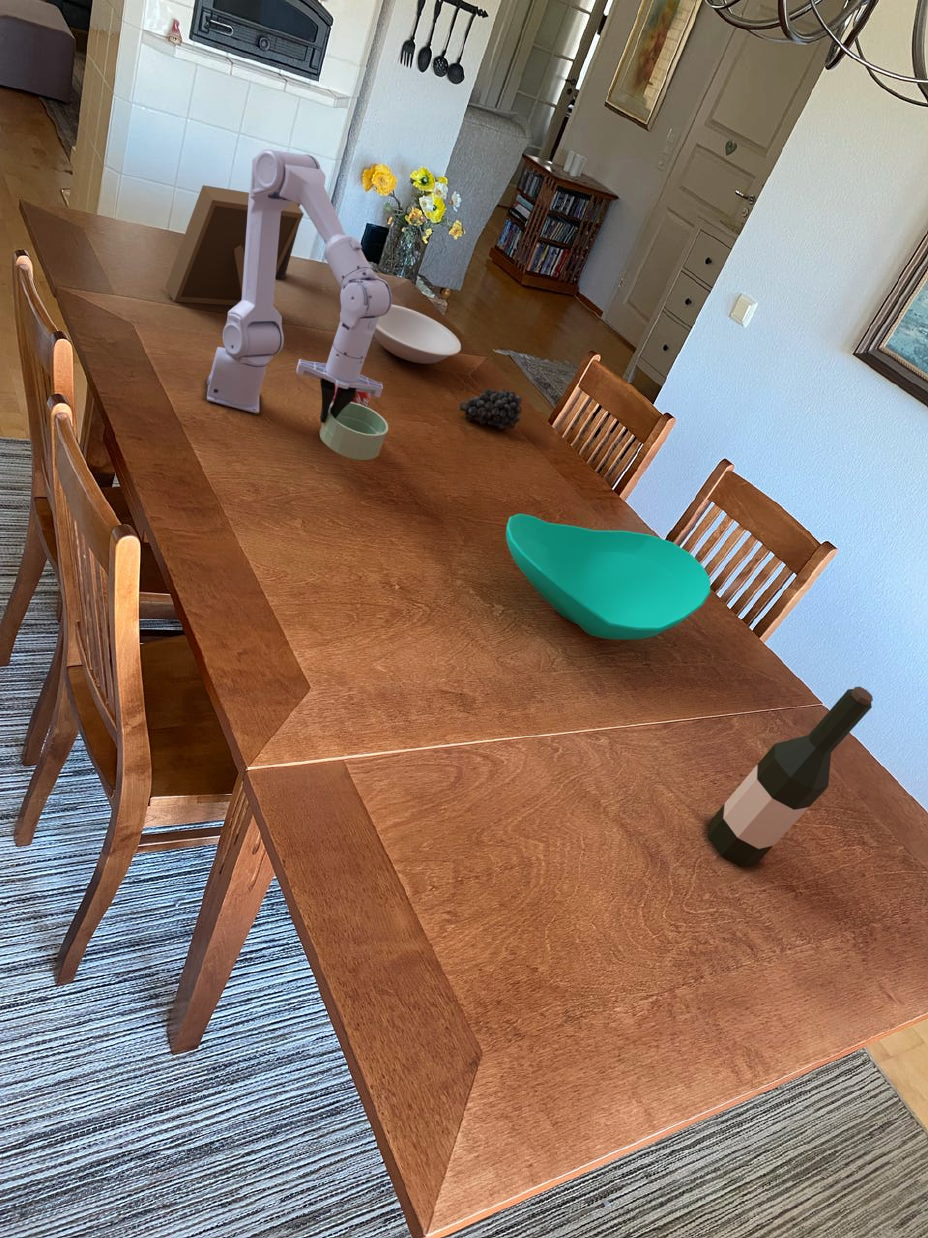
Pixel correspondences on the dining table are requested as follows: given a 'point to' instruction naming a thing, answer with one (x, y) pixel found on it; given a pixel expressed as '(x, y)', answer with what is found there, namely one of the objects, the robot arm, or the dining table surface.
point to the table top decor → (608, 577)
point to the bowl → (355, 432)
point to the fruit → (494, 408)
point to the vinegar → (286, 258)
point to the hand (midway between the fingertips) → (326, 420)
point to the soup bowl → (415, 336)
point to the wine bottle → (783, 785)
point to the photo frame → (220, 248)
